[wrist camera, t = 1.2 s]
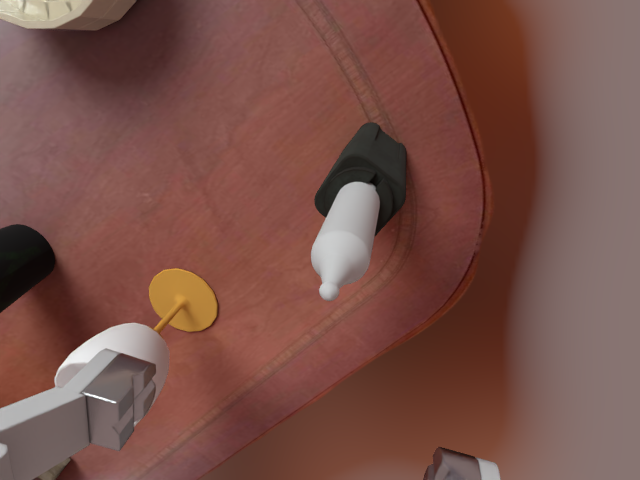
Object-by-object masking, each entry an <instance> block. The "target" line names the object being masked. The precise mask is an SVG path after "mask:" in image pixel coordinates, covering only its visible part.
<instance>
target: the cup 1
mask: <svg viewBox="0 0 640 480" xmlns="http://www.w3.org/2000/svg"><path fill="white" fill-rule="evenodd" d="M54 265H55V258H54V253H53V251H52V248H51V247H50V245H49V243H48V242H47V241H46V240H45V238H44V237H43V236H42V235H40V234H39V233H38V232H37V231H35V230H34V229H32V228H30V227H27V226H24V225H18V224H16V225H11V226H8V227H5V228H2V229H0V313H1V312H2V311H3V310H5V309H6V308H7V307H8V306H10V305H11V304H12V303H13V302H15V301H16V300H17V299H18V298H20V297H21V296H22V295H24V294H25V293H26V292H27V291H29V290H30V289H31V288H32V287H34V286H35V285H36V284H37V283H39V282H40V281H41V280H42V279H44V278H45V277H46V276H48V275H49V274H50V273H51V272H52V271H53V268H54Z"/></svg>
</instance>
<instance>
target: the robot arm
mask: <svg viewBox="0 0 640 480" xmlns="http://www.w3.org/2000/svg"><path fill="white" fill-rule="evenodd" d="M155 374H156V364H154V363H151V362H148V361H145V360H142V359H139V358H136V357H133V356H130V355H127V354H123V353H120V352H117V351H113V350H110V349H107V348H105V349H103V350H101V351H99V352H98V353H97V354H96V355H95V356H94V357H93V358H92V359H91V360H90V361H89V362H88V363H87V364H86V365H85V366H84V367H83V368H82V369H81V370H80V371H79V372H78V373H77V374H76V375H75V376H74V377H73V378H72V379H71V380H70V381H69V382H68V383H67V384H66V385H65V386H64V387H63V388H61V387H55V388H52V389H50V390H47V391H44V392H42V393H39V394H37V395H34V396H32V397H29V398H26V399H24V400H21V401H19V402H16V403H13V404H11V405H8V406H6V407H3V408H1V409H0V480H33V479H34V478H36V477H38V476H39V475H41V474H42V473H44V472H46V471H47V470H49V469H51V468H52V467H54V466H56V465H57V464H59V463H61V462H62V461H64V460H66V459H67V458H69V457H70V456H72V455H74V454H75V453H77V452H79V451H80V450H82V449H84V448H85V447H87V446H89V445H90V443H92V444H95V445H99V446H103V447H106V448H110V449H113V450H117V451H120V450H121V448H122V447H123V445H124V444H125V443H126V441H127V440H128V439H129V437H130V436H131V434H132V433H133V432H134V422H136V421H138V420H140V419H142V418H144V416H145V415H146V413H147V412H148V410H149V409H150V407H151V404H152V402H153V400H154V397H155V392H156V384H155V383H154V381H153V380H152V378H153V377H154V375H155ZM423 480H501V478H500V474H499V470H498V466H497V465H496V463H494V462H490V461H487V460H483V459H480V458H475V457H473V456H470V455H467V454H463V453H460V452H456V451H453V450H449V449H445V448H442V447H438V448H437V449H436V450H435V452H434V455H433V464H432V465H430V466H428V468H427V470H426V473H425V475H424V479H423Z"/></svg>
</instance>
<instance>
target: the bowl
mask: <svg viewBox="0 0 640 480" xmlns="http://www.w3.org/2000/svg"><path fill="white" fill-rule="evenodd" d="M136 1H137V0H0V19H1V20H4V21H7V22H10V23H12V24H15V25H18V26H21V27H23V28H26V29H42V30H64V31H96V30H99V29H101V28H103V27H105V26H107V25H109V24H112V23H114V22H116V21H118V20H120V19H121V18H122V17H123V15H124V14H125V13H126V12H127V11H128V10H129V9H130V8H131V7H132V5H133V4H134V3H135V2H136Z"/></svg>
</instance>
